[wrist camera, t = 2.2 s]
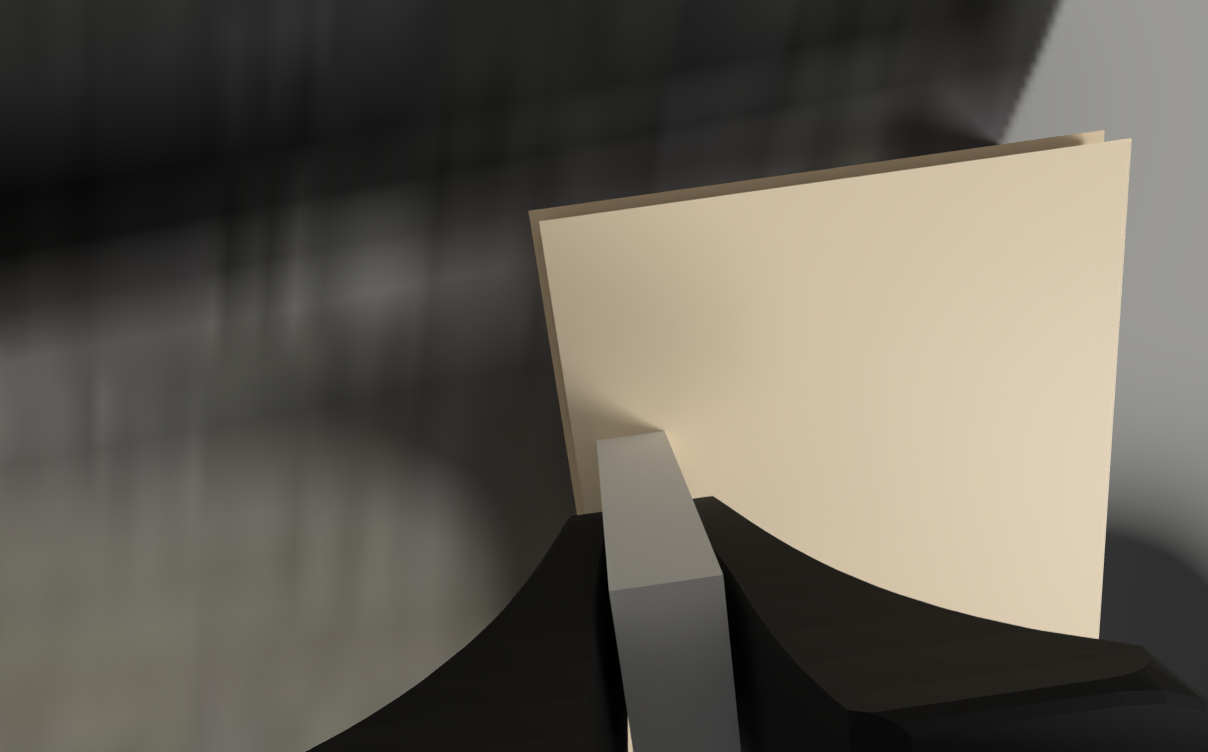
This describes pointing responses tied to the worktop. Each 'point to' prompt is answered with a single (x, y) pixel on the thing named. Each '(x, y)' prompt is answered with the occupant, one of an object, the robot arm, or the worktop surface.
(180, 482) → the worktop surface
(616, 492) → the lid
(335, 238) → the worktop surface
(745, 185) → the beige shallow box
